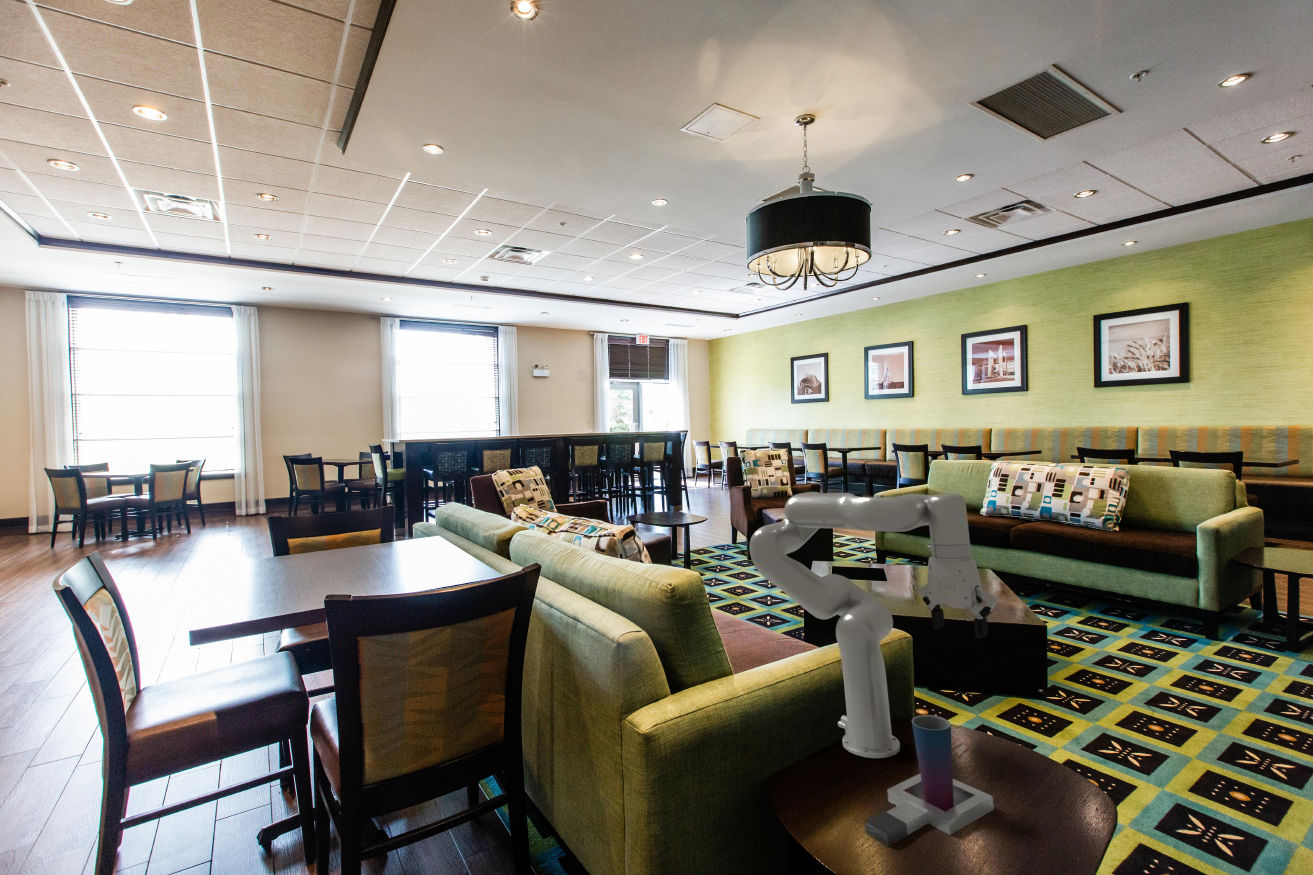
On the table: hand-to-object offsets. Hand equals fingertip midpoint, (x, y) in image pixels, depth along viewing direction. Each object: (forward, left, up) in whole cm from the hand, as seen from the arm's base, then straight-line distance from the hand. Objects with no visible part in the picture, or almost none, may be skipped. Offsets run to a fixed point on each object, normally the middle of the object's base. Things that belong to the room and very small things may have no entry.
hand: (959, 632), depth 126 cm
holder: (+4, -23, -28) cm, 36 cm away
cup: (+4, -17, -28) cm, 33 cm away
